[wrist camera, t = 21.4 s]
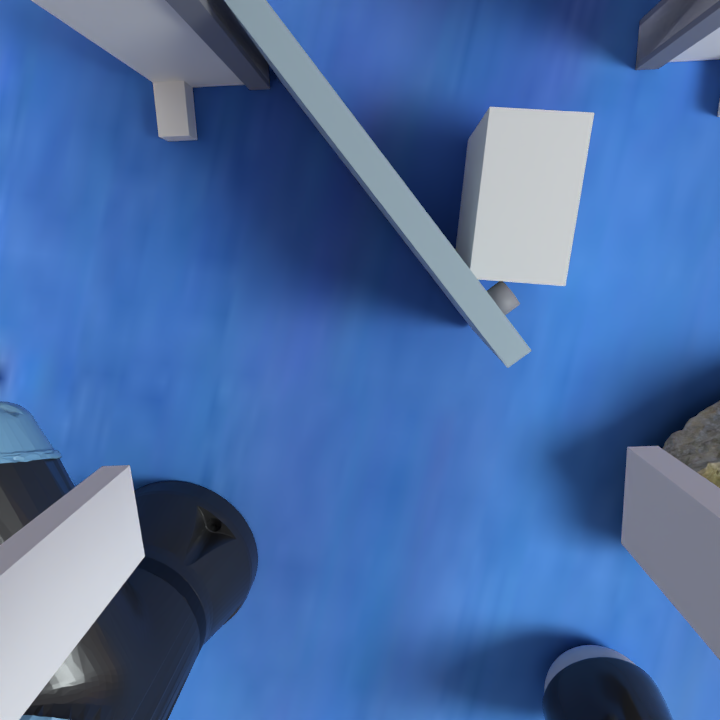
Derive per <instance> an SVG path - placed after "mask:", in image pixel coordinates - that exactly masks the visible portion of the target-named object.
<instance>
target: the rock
mask: <svg viewBox="0 0 720 720" xmlns="http://www.w3.org/2000/svg"><path fill="white" fill-rule="evenodd" d="M662 449H663V450H665V451H666V452H668V453H669V454H671V455H672V456H673V457H675V458H676V459H678V460H679V461H681V462H682V463H684V464H685V465H687V466H688V467H690V468H691V469H692V470H694V471H695V472H697V473H698V474H700V475H701V476H703V477H704V478H706V479H707V480H709V481H710V482H711V483H713V484H714V485H716V486H717V487H719V488H720V400H719V401H718V402H716V403H715V404H713V405H712V406H709V407H707V408H706V409H705V410H703V411H701V412H699V413H698V414H697V415H696V416H695V417H693V418H690V419H689V421H688V422H687V423H686V425H685V427H684V428H683V430H679V431H676V432H674V433H672V434H671V435H670V437H669V438H668V439H667V440H666V442H665V444H664V447H663V448H662Z"/></svg>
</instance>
